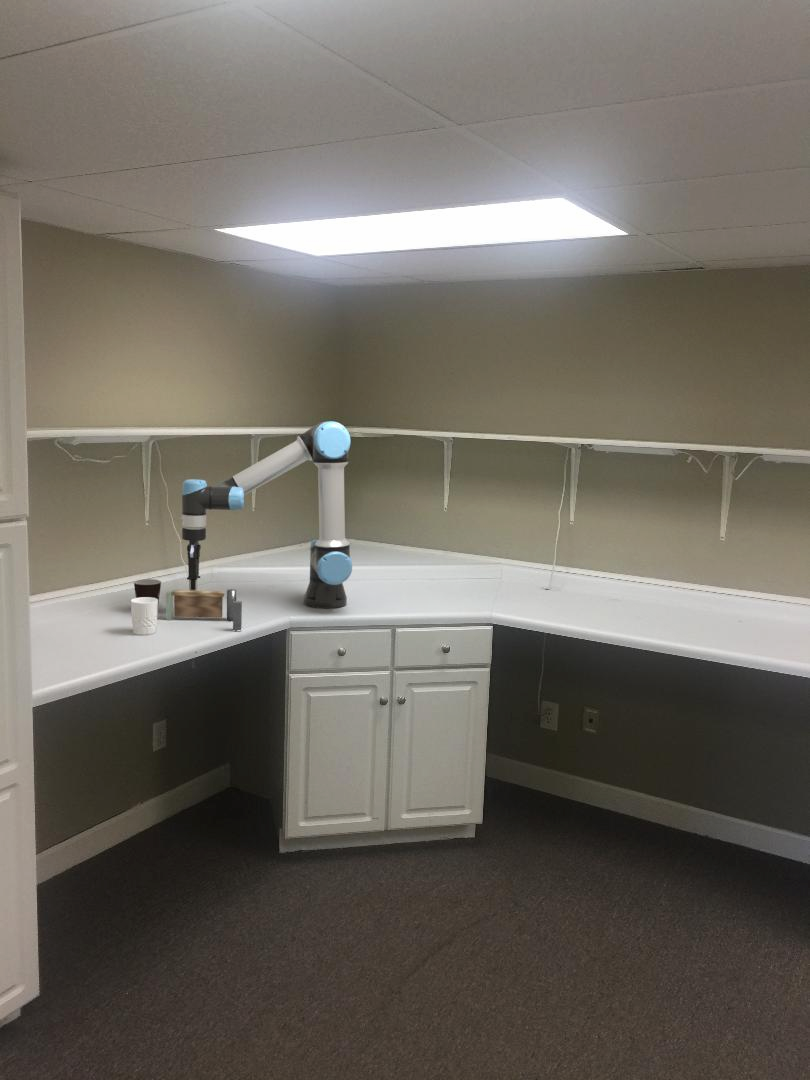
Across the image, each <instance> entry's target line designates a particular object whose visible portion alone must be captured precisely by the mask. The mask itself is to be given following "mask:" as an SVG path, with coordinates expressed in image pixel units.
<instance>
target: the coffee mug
mask: <svg viewBox="0 0 810 1080" xmlns="http://www.w3.org/2000/svg"><path fill="white" fill-rule="evenodd" d="M133 585H134V593H135V595H134V596H135V598H140V597H151V598H156V599H158V605H159V602H160V594H161V587H162V581H161V580H158V579H153V578H152V579H151V578H150V579H149V578H147V579H146V578H144V579H136V580H134V582H133Z"/></svg>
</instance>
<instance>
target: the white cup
mask: <svg viewBox="0 0 810 1080" xmlns="http://www.w3.org/2000/svg"><path fill="white" fill-rule="evenodd" d="M158 611H159V604H158V599H156V598H151V597H140V598H136V597H134V598H132V599H130V614H131V623H132V625H131V626H132V633H133V634H134V635H138V636H149V635H154V634H155V633H156V632H157V624H158Z"/></svg>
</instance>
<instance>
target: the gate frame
mask: <svg viewBox="0 0 810 1080" xmlns="http://www.w3.org/2000/svg"><path fill="white" fill-rule="evenodd" d="M173 591H174V590H167V591H166V593H165V601H166V602H165V606H166V607H165V613H166V614H165V620H166V621H172V620H173V619H174V596H172V592H173ZM242 613H243V601H241V600H237V589H236V588H235V589H234V588H229V589H227V590H226V621H227V620H228V621H227V622H231V621H232V631H233V630H241V628H243V627H242V623H243V622H242V621H243V620H242V619H243V614H242ZM172 618H173V619H172ZM241 631H242V630H241Z"/></svg>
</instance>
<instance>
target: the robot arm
mask: <svg viewBox="0 0 810 1080" xmlns="http://www.w3.org/2000/svg"><path fill="white" fill-rule="evenodd" d="M351 440H352V439H351V436H350V433H349V431H348V429H347V428H346V427H345V426H344V424H341V423H340V422H337V421H330V420H323V421H320V422H317V423H316V424H315V425H313V426H312V427H310V428H309V429H307V431H304V432H303V433H301V434H300V435H298V436H297V438H296V440H295V441H294V442H291V443H289V444H288V445H286V446H285V447H282V448H281V449H279V450H277V451H276V452H274V453H271V454H270V455H268V456H267V457H264V458H263V459H261V460H260V461H258V462H255V463H254V464H252V465H251V466H249V467H247V468H245V469H243V470H242V471H240V472H238V473H236V474H234V475H233V476H231V477H230V478H227V479H226V480H224V481H220V482H218V483H217V484H216V485H215V486H210V485H208V484H207V480H204V479H196V478H195V479H192V478H191V479H186V480H184V481H182V489H181V491H182V492H181V493H182V494H181V506H182V507H181V508H182V511H181V515H182V516H180V518H179V520H181V521H182V524H181V525H182V528H181V539H182V540H183V541H188V544H187V546H186V551H187V553H186V554H187V561H188V562H187V565H188V566H187V567H188V570H187V571H188V576H187V577H186V580H188V582H189V583H188V591H199V579H201V575H199V574H200V572H199V571H200V557H201V548H202V546H201V544H200V543H199V542H200V541H205V540H206V538H207V529H206V528H205V527H207V510H220V511H223V510H224V511H225V510H226V511H240V510H243V509H244V506H245V505H244V504H245V503H244V502H245V495H247V494H249V493H251V492H253V491H254V490H256V489H258V488H261V487H262V486H264V485H265V484H267V483H269V482H271V481H273V480H274V479H276V478H278V477H280V476H281V475H283V474H285V473H286V472H289V471H291V470H292V469H294V468H296V467H298V466H299V465H301V464H303V463H305V462H306V461H312V463H313V464H314V466H315V467H317V479H318V480H317V482H318V484H317V485H318V486H317V487H318V525H319V526H318V529H319V530H318V531H319V538H318V539H313V540H311V542H310V547H309V552H310V555H309V557H310V558H309V559H310V561H309V583H308V585H307V588H306V591H305V594H304V598H303V599H304V600H303V603H304V605H306V606H308V607H311V606H312V608H317V607H319V609H320V608H321V609H334V608H335V609H336V608H341V607H345V606H347V601H348V598H347V597H348V596H347V595H346V590H345V587H344V582H346V581H347V580H349V578H350V576H351V574H352V572H353V563H352V559H351V558H350V557H351V554H350V553H351V549H350V544H351V543H350V541H348V540H347V539H346V525H345V524H346V521H345V520H346V519H345V518H346V517H345V515H346V513H345V512H346V511H345V510H346V509H345V467H346V466H347V465H348V464H349V450H350V447H351Z"/></svg>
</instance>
